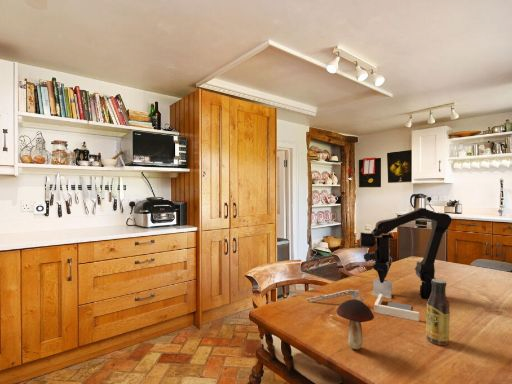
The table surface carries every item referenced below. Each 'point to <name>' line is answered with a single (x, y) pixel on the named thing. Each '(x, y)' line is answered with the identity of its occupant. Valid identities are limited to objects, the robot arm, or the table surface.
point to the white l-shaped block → (394, 311)
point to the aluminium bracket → (382, 288)
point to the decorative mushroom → (355, 320)
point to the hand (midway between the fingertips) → (383, 280)
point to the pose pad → (399, 306)
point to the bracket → (354, 292)
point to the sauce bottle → (438, 314)
